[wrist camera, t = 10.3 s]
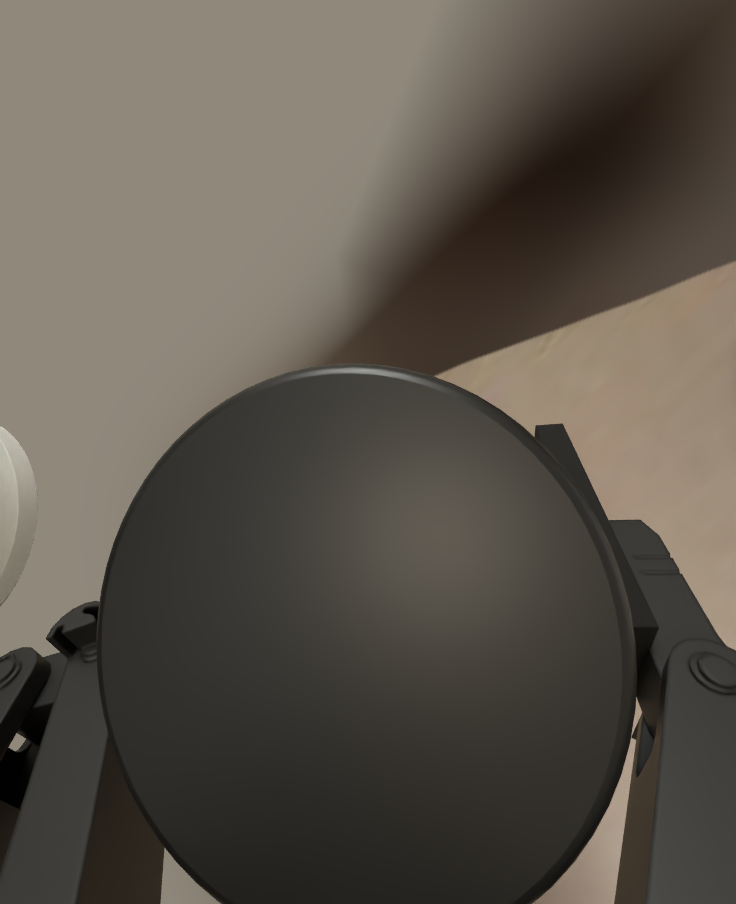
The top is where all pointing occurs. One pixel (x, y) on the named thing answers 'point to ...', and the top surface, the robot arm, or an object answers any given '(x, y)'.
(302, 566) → the jar
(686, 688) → the robot arm
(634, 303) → the top surface
